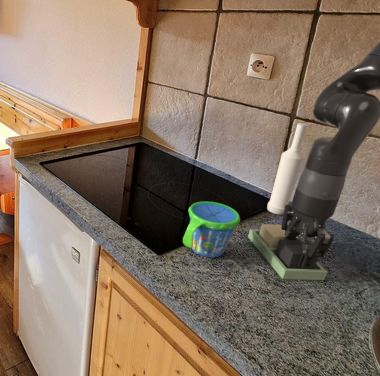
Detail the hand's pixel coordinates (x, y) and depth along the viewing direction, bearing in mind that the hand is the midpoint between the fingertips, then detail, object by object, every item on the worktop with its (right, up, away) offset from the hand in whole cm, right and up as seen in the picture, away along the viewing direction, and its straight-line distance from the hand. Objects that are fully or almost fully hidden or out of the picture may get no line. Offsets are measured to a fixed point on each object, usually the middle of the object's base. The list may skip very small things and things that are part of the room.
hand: (294, 259), depth 88 cm
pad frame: (0, 0, +4) cm, 5 cm away
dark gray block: (0, -1, 0) cm, 1 cm away
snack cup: (-17, +1, +7) cm, 18 cm away
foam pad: (0, +2, +8) cm, 8 cm away
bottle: (+10, +9, +25) cm, 29 cm away
